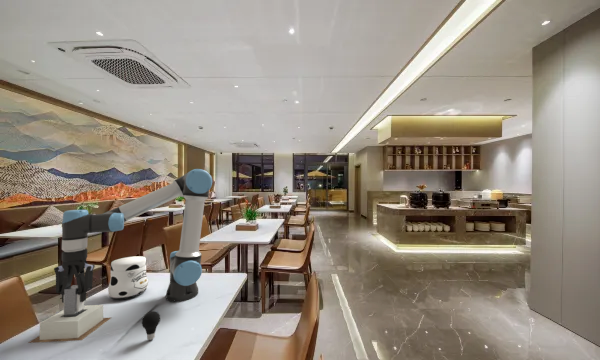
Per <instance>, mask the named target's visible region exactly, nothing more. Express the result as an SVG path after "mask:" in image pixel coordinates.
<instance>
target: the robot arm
mask: <svg viewBox="0 0 600 360" xmlns="http://www.w3.org/2000/svg"><path fill="white" fill-rule="evenodd" d="M212 186H213V177H212V175H211V174H210V173H209V172H208V171H207V170H204V169H201V168H194V169H191V170H190V171H187V172H186V173H185V174H182V176H179V177H178V178H176V179H173V181H172V183H169V184H167V185H164V186H162V187H161V188H160V187H159V188H158V189H156V190H153V191H151V192H149V193H148V194H144V195H143V196H141V197H138V198H136V199H133V200H131V201H129V202H127V203H125V204H122V205H119V206H118V207H115V208H112V209H111V210H108V211H106V212H104V213H97V214H96V213H94V214H93V213H92V214H91V213H89V211H88V209H70V210H68V209H67V210H65V211H64V212H63V213H62V222H61V228H62V231H61V233H62V234H61V235H62V236H61V250H62V252H61V261H62V264H61V265H59V266H56V267H54V268H53V271H54V273H55V293H56V294H61V303H62V304H64V289H66V288H69V287H71V286H72V282H73V278H74V277H75V280H76V285H78V290H79V293H78V294H77V312H79V311H81V310H82V309H84V306H85V301H87V292H89V291H91V290H92V289H93V277H94V276H93V275H94V274H93V273H94V269H95V267H96V266H95V264H89V263H88V261H87V258H88V239H89V238H88V237H89V235H88V234H94V233H106V232H107V233H108V232H109V233H110V232H118V231H123V230H124V228H125V223H126V222H127V221H129V220H132V219H134V218H136V217H138V216H140V215H143V214H144V213H147V212H149V211H152V210H154V209H155V208H157V207H160V206H162V205H164V204H166V203H168V202H171V201H173V200H175V199H176V198H177V199H178V197H180V198H181V197H182V198H184V199H185V203H184V212H183V218H182V226H181V233H180V243H179V249H178V250H175V251H172V252H170V255H169V264H170V265H169V284H168V287H167V291H166V292H165V299H166V301H168V302H173V303H174V302H178V303H179V302H184V301H189V300H191V299H193V298H195V297H196V296H198V294H199V286H198V284H197V282H198V281H199V280H200V278H201V276H202V273H203V268H202V263H201V262H202V253H201V251H200V244H201V243H200V242H201V235H202V234H201V233H202V227H203V226H202V225H203V217H204V208H205V201H206V200H209V199H208V198H209V195H210V190H211V188H212ZM62 310H63V312H64V309H62Z"/></svg>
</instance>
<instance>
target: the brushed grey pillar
mask: <svg viewBox="0 0 600 360" xmlns="http://www.w3.org/2000/svg"><path fill="white" fill-rule="evenodd" d="M78 293H79V290H78V285H77V284H75V285H74V284H73V285H71V287H69V288H66V289H64V303H63V310H64V317H76V316H78V315H79V314H81V313H83V309H82V310H81V311H79V312H77V294H78Z"/></svg>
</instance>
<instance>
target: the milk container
mask: <svg viewBox="0 0 600 360" xmlns="http://www.w3.org/2000/svg"><path fill="white" fill-rule="evenodd" d="M148 279H149V278H148V276H147V258H146V257H145V256H142V255H141V256H140V255H139V256H137V255H136V256H127V257H122V258H118V259H115V260H112V261H111V263H110V280H109V284H108V286H107V291H108V292H107V293H108V296H109V297H110V298H111V299H114V300H115V299H116V300H117V299H118V300H120V299H121V300H122V299H127V298H128V299H129V298H133V297H136V296H139V295H141V294H143V293H144V292H146V290H147V289H148V286H149V280H148Z"/></svg>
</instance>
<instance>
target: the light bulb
mask: <svg viewBox="0 0 600 360" xmlns="http://www.w3.org/2000/svg"><path fill="white" fill-rule="evenodd" d="M160 322H161V315H160V314H159V312H158V311H155V310H152V311H149V312H147V313H146V314H144V316H143V317H142V320H141V326H142V327H143V329H144V330H145V334H146V339H147V340H148V341H152V340H153V339H154V338H155V337H156V330H157V328H158V325H159V324H160Z"/></svg>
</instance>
